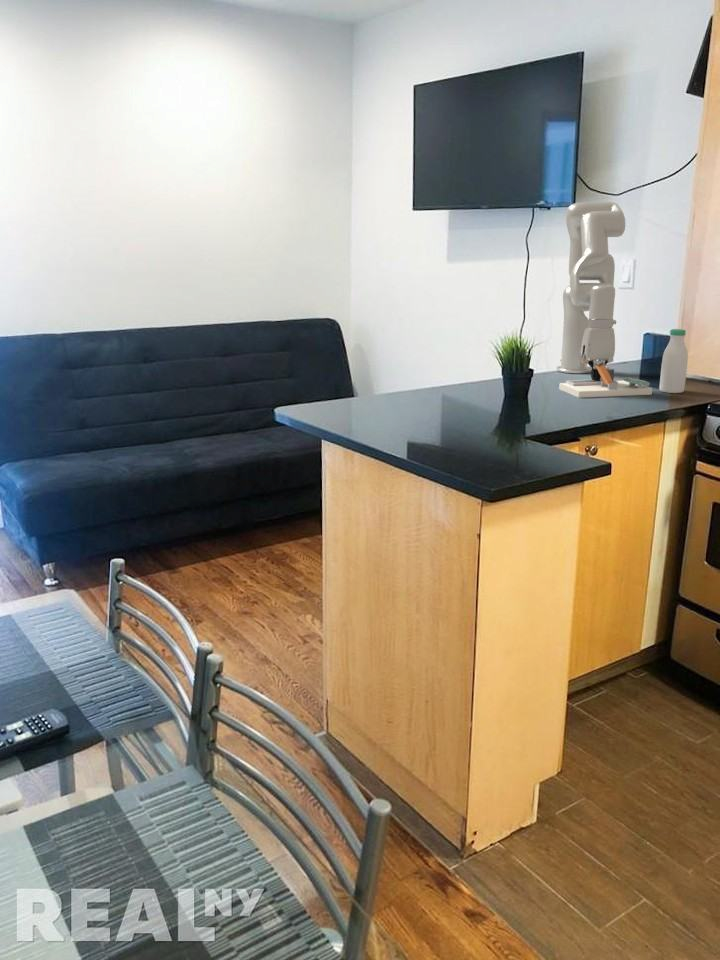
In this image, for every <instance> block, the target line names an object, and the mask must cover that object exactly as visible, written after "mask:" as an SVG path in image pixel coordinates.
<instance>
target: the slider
mask: <svg viewBox="0 0 720 960" xmlns="http://www.w3.org/2000/svg"><path fill="white" fill-rule="evenodd" d="M605 367H606V369H607V371H608V373H609V375H610V377H611V379H612V381H613V380H615V379H614V376H615V369H614V368H612V367H610V366H606V365H605ZM601 381H603V379H602V378H601Z"/></svg>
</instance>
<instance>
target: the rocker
mask: <svg viewBox="0 0 720 960" xmlns="http://www.w3.org/2000/svg"><path fill="white" fill-rule="evenodd" d="M623 380H624V381H626V382H629V383H634V384H637V385H640V386H642V385H644V386H647V387H650V384H651V382H648V381H646V380H642V379H637V378H632V377H627V376H624V377H623Z"/></svg>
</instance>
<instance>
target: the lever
mask: <svg viewBox="0 0 720 960" xmlns="http://www.w3.org/2000/svg"><path fill="white" fill-rule="evenodd" d="M594 364H595V366H596V368H597V370H598V372H599V374H600V376H601V378H602V379H603V381H604V383H605V384H607V385H608V383H613V381H612V379H611V377H610V375H609V373H608V371H607V369H606V367H605V366H606V365H604V363H603V362H602V361H599V360H597V361H596V362H595V363H594Z"/></svg>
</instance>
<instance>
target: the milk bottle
mask: <svg viewBox="0 0 720 960" xmlns="http://www.w3.org/2000/svg"><path fill="white" fill-rule="evenodd" d="M669 337H670V339H669V342H668V344H667V346H666V348H665V349H664V351H663V353H662V359H661V360H662V361H661V369H660V378H659V387H658V388H659V392H663V393H668V394H681V393H684V391H685V390H686V389H685V387H686V378H687V371H688V370H687V369H688V357H689V355H688V350H687V346H686V344H685V338H686V329H681V328H673V329H670V331H669Z"/></svg>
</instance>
